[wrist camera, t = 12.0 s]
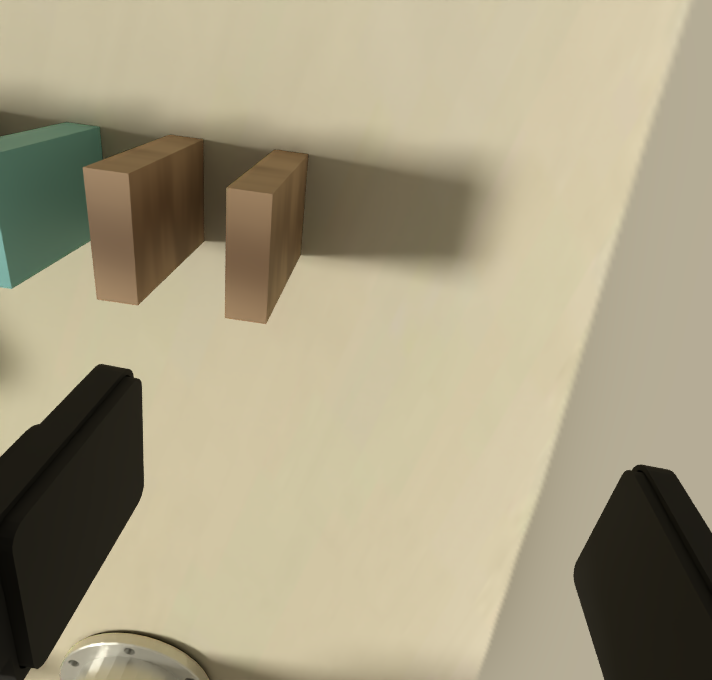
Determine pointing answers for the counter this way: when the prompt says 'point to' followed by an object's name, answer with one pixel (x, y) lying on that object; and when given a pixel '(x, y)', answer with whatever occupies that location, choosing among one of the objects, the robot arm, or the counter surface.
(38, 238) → the tile
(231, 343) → the counter surface
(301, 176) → the brown flat rectangular block
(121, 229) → the tile
